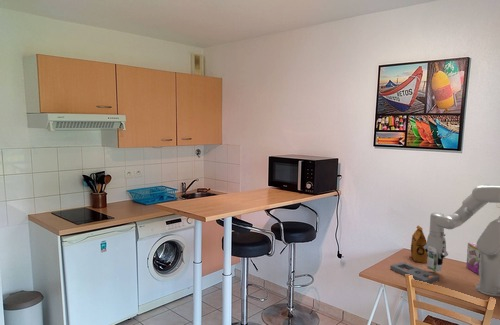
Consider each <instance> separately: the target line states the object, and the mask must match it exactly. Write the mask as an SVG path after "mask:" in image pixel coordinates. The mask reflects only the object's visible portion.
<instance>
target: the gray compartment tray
mask: <svg viewBox="0 0 500 325" xmlns="http://www.w3.org/2000/svg"><path fill="white" fill-rule="evenodd" d="M390 270H391V271H394V272H396V273H399V274H400V275H402V276H404V275H405V274H410V275H413V278H414V279H415V280H419V281H423V282H427V283H430V284H432V282H434V283H436V281H437V282H439V281H440V276H438V275H436V274H434V273H431V272H429V271H426V270H424V269H422V268H420V267H416V266H414V265H413V264H410V263H407V262H405V261H402V262H399V263H395V264H391V265H390ZM415 280H414V281H415Z"/></svg>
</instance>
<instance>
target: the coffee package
mask: <svg viewBox="0 0 500 325" xmlns="http://www.w3.org/2000/svg"><path fill="white" fill-rule="evenodd" d="M411 236H412V237H411V244H410V255H411V258H412V260H413V261H414V263H417V262H418V263H422V264H427V263H428V254H427V252H426V251H425V249H424V247H423V246H425V245H426V244H427V238H426V235H425V234H424V232H423V227H421V226H420V225H416V230H415V231H414V233H413V234H412V235H411Z"/></svg>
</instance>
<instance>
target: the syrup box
mask: <svg viewBox="0 0 500 325" xmlns="http://www.w3.org/2000/svg"><path fill="white" fill-rule="evenodd" d="M442 252H443V251H442ZM438 258H439V256H438V253H437V248H434V247H431V246H429V248H428V257H427V263H426V264H427V266H426V269H427V270H430V271H432V272H435V273H436V272H441V271H442V269H443V266H442V265H443V264H442V265H438Z"/></svg>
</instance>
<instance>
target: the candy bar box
mask: <svg viewBox="0 0 500 325" xmlns="http://www.w3.org/2000/svg"><path fill="white" fill-rule="evenodd" d="M476 244H477V242H467V251H466V252H467V254H466V268H467V269H468V270H469V271H471V272H473V273H474V274H476V275H477V276H480V266H481V255H482V253H480V252H479V251H478V249H477V246H476Z"/></svg>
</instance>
